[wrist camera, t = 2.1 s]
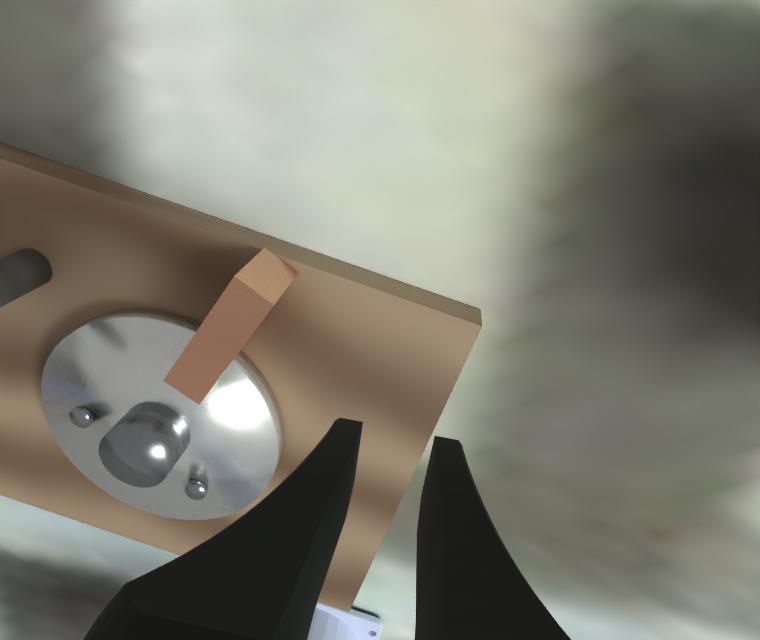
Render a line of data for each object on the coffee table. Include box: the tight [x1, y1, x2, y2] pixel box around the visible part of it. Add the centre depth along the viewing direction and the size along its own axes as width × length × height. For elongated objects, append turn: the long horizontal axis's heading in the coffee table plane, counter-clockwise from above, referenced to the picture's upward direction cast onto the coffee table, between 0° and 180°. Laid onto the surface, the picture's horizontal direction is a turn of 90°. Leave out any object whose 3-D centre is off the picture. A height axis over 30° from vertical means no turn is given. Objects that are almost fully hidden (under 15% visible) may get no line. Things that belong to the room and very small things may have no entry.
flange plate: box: [41, 248, 299, 520], centre depth 22 cm, size 16×11×3 cm
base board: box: [0, 143, 482, 612], centre depth 23 cm, size 19×23×5 cm
